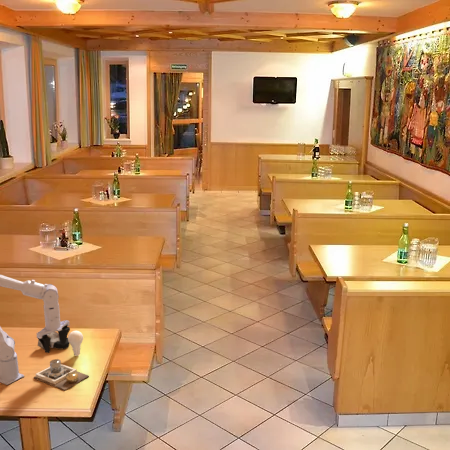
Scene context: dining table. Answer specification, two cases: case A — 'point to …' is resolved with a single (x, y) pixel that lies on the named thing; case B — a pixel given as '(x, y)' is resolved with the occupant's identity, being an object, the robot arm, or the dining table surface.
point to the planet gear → (56, 369)
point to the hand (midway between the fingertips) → (55, 348)
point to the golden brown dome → (72, 377)
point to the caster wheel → (55, 341)
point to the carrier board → (64, 381)
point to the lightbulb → (75, 341)
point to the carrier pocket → (40, 375)
